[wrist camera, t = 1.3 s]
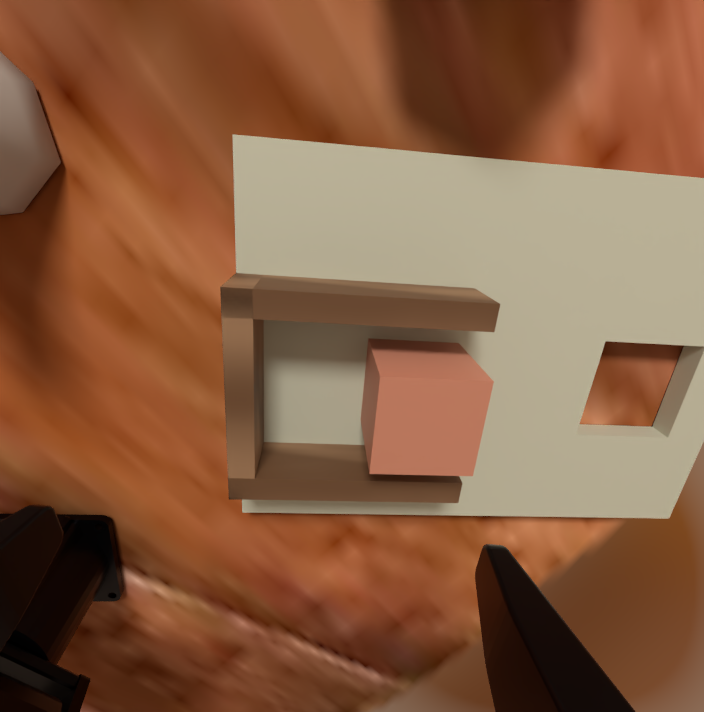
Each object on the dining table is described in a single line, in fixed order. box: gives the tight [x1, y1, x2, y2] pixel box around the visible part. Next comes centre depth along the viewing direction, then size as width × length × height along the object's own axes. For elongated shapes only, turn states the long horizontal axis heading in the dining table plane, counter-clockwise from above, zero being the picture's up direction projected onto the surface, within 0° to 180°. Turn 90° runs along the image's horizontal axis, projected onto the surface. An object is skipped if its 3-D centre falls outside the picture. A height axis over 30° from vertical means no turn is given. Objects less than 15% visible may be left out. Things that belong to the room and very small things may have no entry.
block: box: [361, 338, 494, 476], centre depth 19 cm, size 4×4×4 cm
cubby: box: [220, 273, 500, 503], centre depth 19 cm, size 10×11×3 cm
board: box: [233, 135, 704, 518], centre depth 21 cm, size 19×26×1 cm
